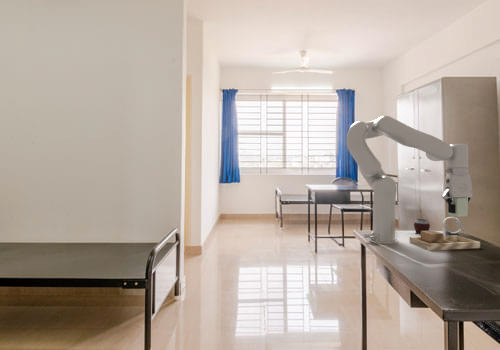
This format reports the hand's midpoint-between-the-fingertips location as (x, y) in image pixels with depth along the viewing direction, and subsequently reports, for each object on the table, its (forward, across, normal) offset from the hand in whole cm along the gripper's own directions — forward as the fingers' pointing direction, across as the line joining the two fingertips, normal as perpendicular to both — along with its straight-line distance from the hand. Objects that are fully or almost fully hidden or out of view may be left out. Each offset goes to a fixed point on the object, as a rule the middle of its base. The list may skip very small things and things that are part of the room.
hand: (457, 212), depth 124 cm
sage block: (+2, 0, 0) cm, 2 cm away
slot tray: (+16, -7, 0) cm, 17 cm away
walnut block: (+14, -13, 0) cm, 19 cm away
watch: (+16, +9, +12) cm, 22 cm away
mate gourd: (+16, 0, +22) cm, 27 cm away
